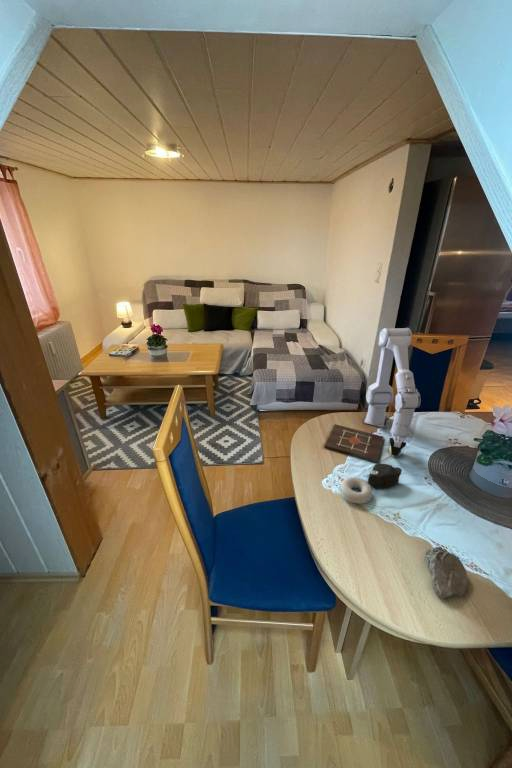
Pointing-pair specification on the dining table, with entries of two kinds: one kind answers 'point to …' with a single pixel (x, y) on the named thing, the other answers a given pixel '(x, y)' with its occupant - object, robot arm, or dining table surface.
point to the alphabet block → (393, 455)
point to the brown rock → (446, 572)
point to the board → (355, 443)
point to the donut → (356, 496)
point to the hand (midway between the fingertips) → (394, 451)
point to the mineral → (384, 476)
